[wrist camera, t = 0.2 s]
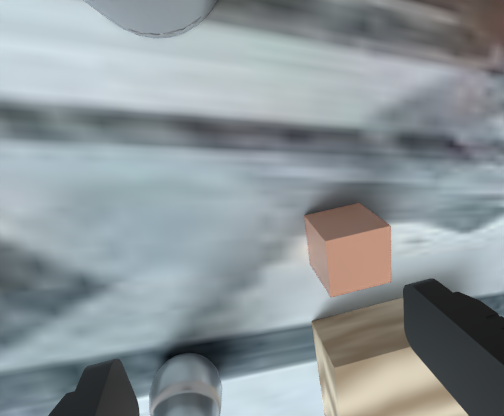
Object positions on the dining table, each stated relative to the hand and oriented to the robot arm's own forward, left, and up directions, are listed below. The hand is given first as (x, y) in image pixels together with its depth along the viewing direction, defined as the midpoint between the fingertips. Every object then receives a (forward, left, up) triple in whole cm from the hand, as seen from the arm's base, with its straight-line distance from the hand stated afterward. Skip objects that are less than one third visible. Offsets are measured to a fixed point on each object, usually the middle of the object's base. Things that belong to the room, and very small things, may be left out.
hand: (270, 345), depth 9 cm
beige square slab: (+23, +13, -18) cm, 32 cm away
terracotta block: (+7, +9, -18) cm, 21 cm away
